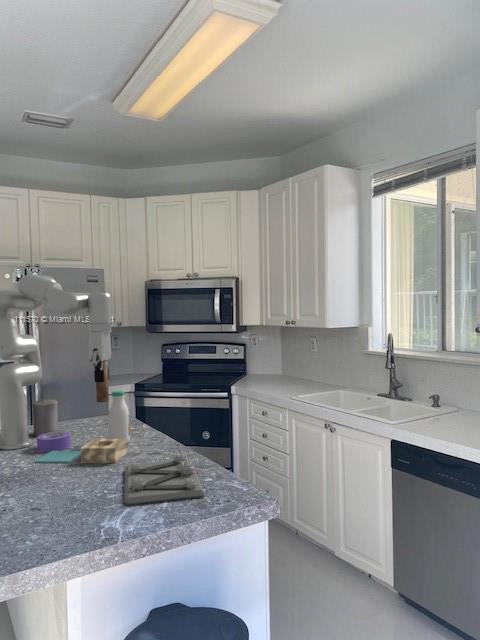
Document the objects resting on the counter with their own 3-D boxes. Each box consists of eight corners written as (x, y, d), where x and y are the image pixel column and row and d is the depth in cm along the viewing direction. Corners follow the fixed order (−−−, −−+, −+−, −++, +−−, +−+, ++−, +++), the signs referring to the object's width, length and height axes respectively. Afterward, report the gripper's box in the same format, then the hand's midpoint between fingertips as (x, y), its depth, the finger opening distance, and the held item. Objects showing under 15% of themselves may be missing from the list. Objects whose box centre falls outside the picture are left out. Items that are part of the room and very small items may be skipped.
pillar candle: (35, 432, 212) (33, 397, 212) (59, 430, 215) (57, 395, 215) (32, 438, 203) (31, 401, 202) (58, 435, 206) (56, 399, 205)
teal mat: (35, 462, 170) (35, 461, 170) (51, 452, 182) (51, 450, 182) (69, 462, 169) (69, 461, 169) (83, 452, 181) (83, 450, 181)
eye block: (81, 462, 169) (80, 448, 168) (94, 452, 180) (94, 438, 180) (115, 463, 167) (115, 448, 167) (126, 452, 179) (126, 438, 179)
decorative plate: (125, 471, 160) (124, 449, 160) (191, 465, 165) (191, 444, 164) (124, 508, 131) (123, 481, 130) (205, 499, 135) (205, 473, 135)
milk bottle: (127, 445, 189) (125, 392, 188) (106, 445, 189) (105, 393, 189) (132, 439, 197) (130, 389, 196) (112, 440, 197) (110, 389, 196)
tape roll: (30, 452, 183) (30, 438, 183) (48, 443, 195) (48, 430, 195) (60, 453, 181) (59, 439, 181) (76, 444, 193) (76, 431, 193)
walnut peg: (94, 402, 172) (93, 361, 171) (99, 400, 176) (97, 360, 175) (106, 402, 171) (104, 361, 171) (110, 400, 175) (108, 360, 175)
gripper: (98, 327, 181) (100, 377, 182) (79, 329, 165) (81, 384, 165) (118, 326, 181) (120, 377, 181) (102, 329, 164) (103, 384, 165)
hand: (101, 380), depth 173 cm, fingers closed on walnut peg, 4 cm apart
